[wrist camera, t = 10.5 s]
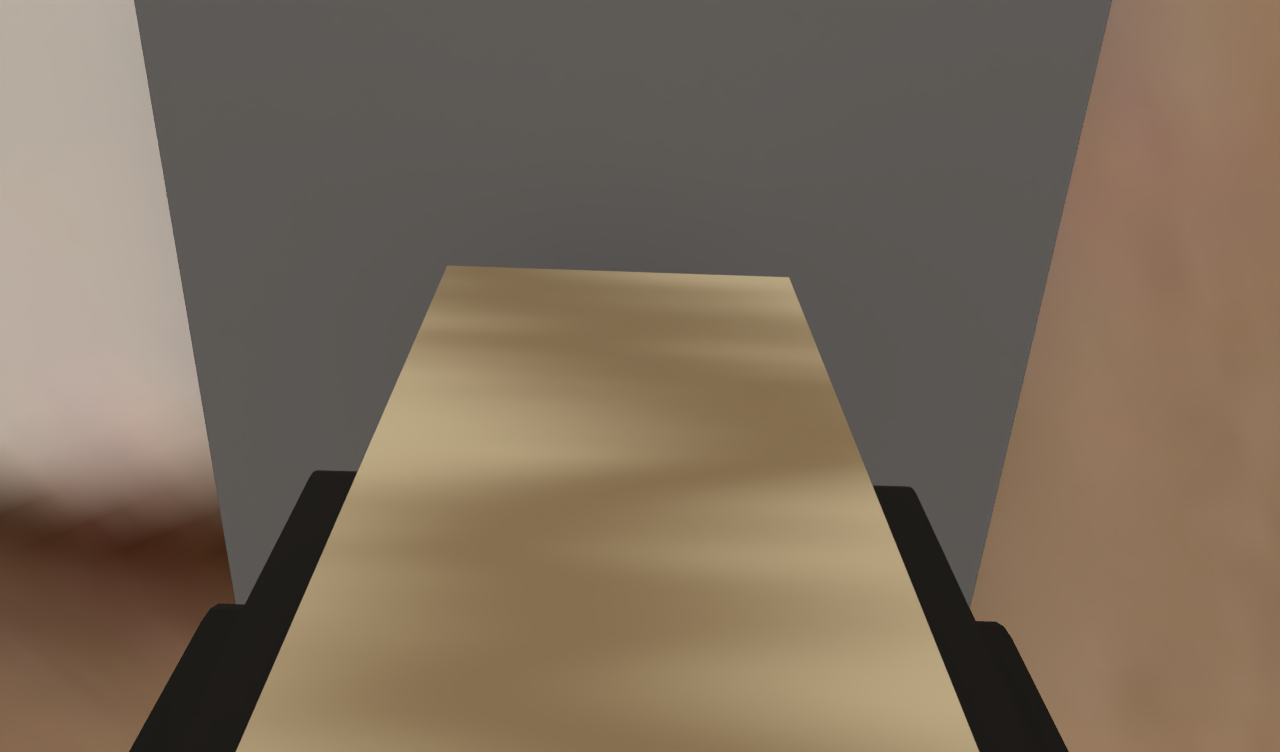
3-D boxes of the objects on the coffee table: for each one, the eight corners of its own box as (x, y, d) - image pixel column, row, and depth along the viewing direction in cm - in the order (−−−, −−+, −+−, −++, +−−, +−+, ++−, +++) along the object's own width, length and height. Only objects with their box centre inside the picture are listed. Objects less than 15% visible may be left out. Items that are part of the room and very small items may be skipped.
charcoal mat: (1105, -61, 13) (1126, -58, 12) (940, 668, 18) (950, 693, 18) (137, -106, 13) (116, -104, 12) (259, 653, 18) (248, 678, 17)
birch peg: (788, 277, 13) (1078, 996, 5) (757, 555, 15) (924, 1411, 6) (447, 265, 13) (134, 988, 4) (459, 546, 14) (255, 1410, 6)
